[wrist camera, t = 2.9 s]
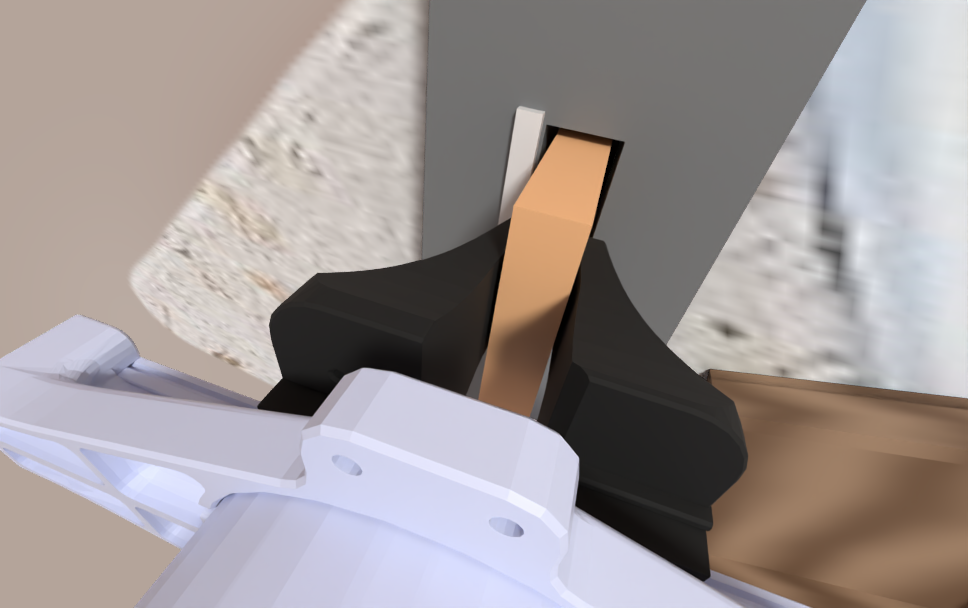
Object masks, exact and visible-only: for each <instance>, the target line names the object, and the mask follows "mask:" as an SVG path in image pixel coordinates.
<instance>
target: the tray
mask: <svg viewBox="0 0 968 608" xmlns="http://www.w3.org/2000/svg"><path fill="white" fill-rule="evenodd" d="M707 382H709V383H710V384H711V385H713V386H714V387H715V388H717V389H718V390H719V391H721V392H722V393H723V394H725V395H726V396H727V397H729V398H730V399H731V400H733V401H734V403H735V406H736V409H737V412H738V415H739V418H740V421H741V424H742V429H743V433H744V437H745V442H746V447H747V452H748V462H747V469H746V470H745V472H744V473H743V475H742V476H741V477H740V479H739V480H738V481H737V482H736V483H735V484H734V485H733V486H732V487H731V488H730V489H728V490H727V491H726V492H725V493H724V494H723V495H722V496H721V497H720V498H719V499H718V500H717V501H716V502H715V503H714V504H713V505H711V507H712V515H713V527H712V529H711V530H710V531H706V535H707V544H708V554H709V564H710V570H713V571H715V572H718V573H721V574H723V575H726V576H729V577H731V578H734V579H737V580H739V581H742V582H745V583H747V584H750V585H753V586H755V587H758V588H761V589H763V590H766V591H769V592H771V593H774V594H777V595H779V596H782V597H785V598H787V599H790V600H793V601H796V602H798V603H801V604H804V605H806V606H809V607H812V608H968V399H966V398H957V397H949V396H940V395H931V394H922V393H914V392H905V391H896V390H887V389H879V388H870V387H861V386H853V385H844V384H835V383H826V382H818V381H809V380H800V379H792V378H783V377H774V376H765V375H757V374H748V373H739V372H731V371H722V370H713V369H710V371H709V374H708V378H707Z"/></svg>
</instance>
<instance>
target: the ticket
mask: <svg viewBox="0 0 968 608" xmlns="http://www.w3.org/2000/svg"><path fill="white" fill-rule="evenodd" d="M612 140H613V139H610V138H606V137H601V136H597V135H592V134H588V133H583V132H579V131H574V130H570V129H565V128H560V130H559V132H558V133H557V135H556V137H555V138H554V140H553V142H552V143H551V145H550V147H549V148H548V150H547V152H546V153H545V155H544V156H543V158H542V160H541V161H540V163H539V165H538V166H537V168H536V170H535V171H534V173H533V175H532V176H531V178H530V180H529V181H528V183H527V185H526V186H525V188H524V189H523V191H522V193H521V194H520V196H519V198H518V199H517V201H516V203H515V204H514V206H513V212H512V217H511V223H510V228H509V234H508V239H507V245H506V250H505V256H504V261H503V267H502V272H501V278H500V283H499V289H498V294H497V300H496V305H495V311H494V316H493V322H492V327H491V332H490V338H489V343H488V349H487V354H486V360H485V365H484V371H483V376H482V382H481V387H480V393H479V398H478V400H480V401H483V402H486V403H489V404H492V405H495V406H498V407H501V408H504V409H507V410H510V411H512V412H515V413H518V414H521V415H524V416H527V417H530V414H531V411H532V408H533V405H534V402H535V399H536V396H537V393H538V390H539V387H540V384H541V381H542V378H543V375H544V372H545V369H546V366H547V363H548V360H549V356H550V353H551V350H552V347H553V344H554V341H555V338H556V335H557V332H558V329H559V326H560V323H561V320H562V317H563V314H564V311H565V308H566V305H567V302H568V299H569V296H570V292H571V289H572V286H573V283H574V280H575V277H576V274H577V271H578V268H579V265H580V262H581V259H582V256H583V253H584V250H585V247H586V244H587V241H588V238H589V235H590V232H591V228H592V225H593V221H594V217H595V212H596V208H597V204H598V200H599V195H600V191H601V187H602V183H603V178H604V174H605V170H606V166H607V161H608V157H609V153H610V149H611V144H612Z"/></svg>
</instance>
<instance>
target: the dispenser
mask: <svg viewBox="0 0 968 608" xmlns="http://www.w3.org/2000/svg"><path fill="white" fill-rule="evenodd" d="M865 2H866V0H430V2H429V36H428V69H427V103H426V137H425V170H424V204H423V237H422V260H423V259H427V258H430V257H433V256H436V255H439V254H442V253H444V252H447V251H449V250H452V249H454V248H456V247H459V246H461V245H463V244H465V243H467V242H469V241H471V240H473V239H475V238H477V237H479V236H480V235H482V234H484V233H486V232H488V231H489V230H491V229H493V228H494V227H496V226H498V225H499V224H501V223H502V222H504V221H506V220H508V219H509V218H511V217H512V212H513V206H514V204H515V203H516V201H517V199H518V198H519V196H520V194H521V193H522V191H523V189H524V188H525V186H526V185H527V183H528V181H529V180H530V178H531V176H532V175H533V173H534V171H535V170H536V168H537V166H538V165H539V163H540V161H541V160H542V158H543V156H544V155H545V153H546V152H547V150H548V148H549V147H550V145H551V143H552V142H553V140H554V138H555V137H556V135H557V133H558V131H559V127H561V128H565V129H570V130H574V131H579V132H583V133H588V134H592V135H597V136H601V137H606V138H610V139H615V140H619V141H620V142H619V146H618V149H617V152H616V155H615V158H614V161H613V164H612V167H611V170H610V173H609V176H608V179H607V182H606V185H605V188H604V191H603V194H602V197H601V200H600V203H599V206H598V209H597V213H596V216H595V219H594V222H593V225H592V228H591V232H590V235H589V237H591V238H595V239H599V240H603V241H604V242H605V243H606V245H607V249H608V252H609V255H610V258H611V260H612V263H613V266H614V268H615V271H616V273H617V275H618V277H619V279H620V282H621V284H622V286H623V288H624V290H625V292H626V293H627V295H628V297H629V299H630V300H631V302H632V304H633V305H634V307H635V308H636V310H637V311H638V312H639V314H640V315H641V316H642V318H643V319H644V320H645V322H646V323H647V324H648V326H649V327H650V328H651V329H652V330H653V331H654V333H655V334H656V335H657V336H658V337H659V338H660V339H661V340H662V341H663V342H664V343H665V345H667V343H668V341H669V339H670V338H671V336H672V334H673V332H674V331H675V329H676V327H677V326H678V324H679V322H680V320H681V319H682V317H683V315H684V314H685V312H686V310H687V308H688V307H689V305H690V303H691V301H692V300H693V298H694V296H695V295H696V293H697V291H698V289H699V288H700V286H701V284H702V283H703V281H704V279H705V277H706V276H707V274H708V272H709V271H710V269H711V267H712V265H713V264H714V262H715V260H716V258H717V257H718V255H719V253H720V252H721V250H722V248H723V246H724V245H725V243H726V241H727V240H728V238H729V236H730V234H731V233H732V231H733V229H734V227H735V226H736V224H737V222H738V221H739V219H740V217H741V215H742V214H743V212H744V210H745V209H746V207H747V205H748V203H749V202H750V200H751V198H752V197H753V195H754V193H755V191H756V190H757V188H758V186H759V184H760V183H761V181H762V179H763V178H764V176H765V174H766V172H767V171H768V169H769V167H770V166H771V164H772V162H773V160H774V159H775V157H776V155H777V153H778V152H779V150H780V148H781V147H782V145H783V143H784V141H785V140H786V138H787V136H788V135H789V133H790V131H791V129H792V128H793V126H794V124H795V123H796V121H797V119H798V117H799V116H800V114H801V112H802V110H803V109H804V107H805V105H806V104H807V102H808V100H809V98H810V97H811V95H812V93H813V92H814V90H815V88H816V86H817V85H818V83H819V81H820V79H821V78H822V76H823V74H824V73H825V71H826V69H827V67H828V66H829V64H830V62H831V61H832V59H833V57H834V55H835V54H836V52H837V50H838V49H839V47H840V45H841V43H842V42H843V40H844V38H845V36H846V35H847V33H848V31H849V30H850V28H851V26H852V24H853V23H854V21H855V19H856V18H857V16H858V14H859V12H860V11H861V9H862V7H863V5H864V4H865ZM552 348H553V347H552ZM487 349H488V347H487ZM487 349H486V351H485V353H484V355H483V357H482V359H481V361H480V363H479V365H478V367H477V369H476V372H475V374H474V377H473V379H472V382H471V384H470V387H469V389H468V392H467V394H466V396H467V397H470V398H473V399H476V400H478V398H479V393H480V387H481V382H482V376H483V371H484V365H485V360H486V354H487ZM551 354H552V350H551V353H550V356H549V360H548V363H547V366H546V369H545V372H544V375H543V378H542V381H541V384H540V387H539V390H538V393H537V396H536V399H535V402H534V405H533V408H532V411H531V414H530V417H529V418H532V419H535V420H537V419H538V415H539V412H540V408H541V404H542V401H543V397H544V393H545V389H546V384H547V379H548V373H549V367H550V361H551ZM479 401H480V400H479ZM482 402H483V401H482ZM485 403H486V402H485ZM488 404H489V403H488ZM491 405H492V404H491ZM494 406H495V405H494ZM497 407H498V406H497ZM500 408H501V407H500ZM503 409H504V408H503ZM506 410H507V409H506ZM509 411H510V410H509ZM514 413H515V412H514ZM517 414H518V413H517ZM520 415H521V414H520ZM523 416H524V415H523ZM526 417H527V416H526Z"/></svg>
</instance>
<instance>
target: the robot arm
mask: <svg viewBox="0 0 968 608" xmlns="http://www.w3.org/2000/svg"><path fill="white" fill-rule="evenodd" d="M510 223H511V218H509V219H508V220H506V221H504V222H502V223H501V224H499V225H498V226H496V227H494V228H493V229H491V230H489V231H488V232H486V233H484V234H482V235H480V236H479V237H477V238H475V239H473V240H471V241H469V242H467V243H465V244H463V245H461V246H459V247H456V248H454V249H452V250H449V251H447V252H444V253H442V254H439V255H436V256H433V257H430V258H427V259H423V260H419V261H415V262H411V263H407V264H403V265H398V266H393V267H387V268H381V269H374V270H366V271H355V272H335V273H317V274H316V275H314V276H313V277H312V278H311V279H309V280H308V281H307V282H306V283H305V284H304V285H302V286H301V287H300V288H299V289H298V290H297V291H296V292H294V293H293V294H292V295H291V296H290V297H289V298H288V299H286V300H285V301H284V302H283V303H282V304H281V305H280V306H279V307H278V308H277V309H276V310H275V311H274V312H273V313H272V315H271V319H270V323H269V328H270V335H271V340H272V344H273V347H274V350H275V354H276V357H277V360H278V364H279V367H280V370H281V374H282V377H283V378H282V379H281V380H280V381H279V383H278V384H277V385H276V386H275V387H274V388H273V389H272V390H271V391H270V392H269V393H268V394H267V396H266V397H265V398H264V399H263V400H262V401H261V402H260V401H258V400H255V399H252V398H250V397H247V396H244V395H241V394H239V393H236V392H233V391H231V390H228V389H225V388H223V387H220V386H217V385H215V384H212V383H209V382H207V381H204V380H201V379H199V378H196V377H193V376H190V375H188V374H185V373H183V372H180V371H177V370H175V369H172V368H169V367H167V366H164V365H161V364H159V363H156V362H153V361H151V360H148V359H145V358H142V357H140V355H139V351H138V349H137V347H136V345H135V344H134V342H133V341H132V339H131V338H130V337H129V336H128V335H127V334H125V333H124V332H123V331H122V330H120V329H118V328H116V327H114V326H111V325H108V324H105V323H103V322H100V321H97V320H94V319H92V318H89V317H86V316H83V315H75V316H73V317H71V318H69V319H68V320H66V321H65V322H63V323H61V324H59V325H57V326H56V327H54V328H52V329H51V330H49V331H47V332H45V333H44V334H42V335H40V336H38V337H37V338H35V339H33V340H32V341H30V342H28V343H26V344H25V345H23V346H21V347H20V348H18V349H16V350H15V351H13V352H11V353H9V354H8V355H6V356H4V357H2V358H1V359H0V450H1V451H2V452H3V453H4V454H5V455H7V456H8V457H9V458H10V459H11V460H13V461H14V462H15V463H16V464H17V465H18V466H20V467H21V468H23V469H26V470H28V471H30V472H32V473H34V474H36V475H39V476H41V477H43V478H45V479H47V480H49V481H51V482H54V483H56V484H58V485H60V486H62V487H64V488H66V489H68V490H70V491H72V492H74V493H76V494H78V495H80V496H82V497H84V498H86V499H88V500H90V501H92V502H94V503H95V504H97V505H99V506H101V507H103V508H105V509H107V510H109V511H111V512H113V513H114V514H116V515H118V516H120V517H122V518H124V519H126V520H128V521H129V522H131V523H133V524H135V525H137V526H139V527H141V528H142V529H144V530H146V531H148V532H150V533H152V534H154V535H155V536H157V537H159V538H161V539H163V540H165V541H167V542H168V543H170V544H172V545H174V546H176V547H178V548H180V549H181V551H180V552H179V553H178V555H177V556H176V557H175V558H174V559H173V561H172V562H171V563H170V564H169V565H168V567H167V568H166V569H165V570H164V572H163V573H162V574H161V575H160V576H159V578H158V579H157V580H156V581H155V582H154V584H153V585H152V586H151V587H150V589H149V590H148V591H147V592H146V594H145V595H144V596H143V597H142V598H141V600H140V601H139V602H138V603H137V604H136V606H135V607H134V608H812V607H809V606H806V605H804V604H801V603H798V602H796V601H793V600H790V599H787V598H785V597H782V596H779V595H777V594H774V593H771V592H769V591H766V590H763V589H761V588H758V587H755V586H753V585H750V584H747V583H745V582H742V581H739V580H737V579H734V578H731V577H729V576H726V575H723V574H721V573H718V572H715V571H713V570H710V564H709V554H708V544H707V535H706V531H710V530H711V529H712V527H713V515H712V507H711V505H713V504H714V503H715V502H716V501H717V500H718V499H719V498H720V497H721V496H722V495H723V494H724V493H725V492H726V491H727V490H728V489H730V488H731V487H732V486H733V485H734V484H735V483H736V482H737V481H738V480H739V479H740V477H741V476H742V475H743V473H744V472H745V470H746V469H747V462H748V452H747V447H746V442H745V437H744V433H743V429H742V424H741V421H740V418H739V415H738V412H737V409H736V406H735V403H734V401H733V400H731V399H730V398H729V397H727V396H726V395H725V394H723V393H722V392H721V391H719V390H718V389H717V388H715V387H714V386H713V385H711V384H710V383H709V382H707V381H706V380H705V379H703V378H702V377H701V376H699V375H698V374H697V373H696V372H695V371H693V370H692V369H691V368H690V367H689V366H688V365H687V364H685V363H684V362H683V361H682V360H681V359H680V358H679V357H678V356H677V355H676V354H674V353H673V352H672V351H671V350H670V349H669V348H668V347H667V346H666V345H665V343H664V342H663V341H662V340H661V339H660V338H659V337H658V336H657V335H656V334H655V333H654V331H653V330H652V329H651V328H650V327H649V326H648V324H647V323H646V322H645V320H644V319H643V318H642V316H641V315H640V314H639V312H638V311H637V310H636V308H635V307H634V305H633V304H632V302H631V300H630V299H629V297H628V295H627V293H626V292H625V290H624V288H623V286H622V284H621V282H620V279H619V277H618V275H617V273H616V271H615V268H614V266H613V263H612V260H611V258H610V255H609V252H608V249H607V245H606V243H605V242H604V241H603V240H599V239H595V238H591V237H589V238H588V241H587V244H586V247H585V250H584V253H583V256H582V259H581V262H580V265H579V268H578V271H577V274H576V277H575V280H574V283H573V286H572V289H571V292H570V296H569V299H568V302H567V305H566V308H565V311H564V314H563V317H562V320H561V323H560V326H559V329H558V332H557V335H556V338H555V341H554V344H553V348H552V354H551V361H550V367H549V373H548V379H547V384H546V389H545V393H544V397H543V401H542V404H541V408H540V412H539V415H538V419H537V421H535V420H533V419H531V418H529V417H526V416H523V415H520V414H517V413H514V412H512V411H509V410H506V409H503V408H500V407H497V406H494V405H491V404H488V403H485V402H482V401H479V400H476V399H473V398H470V397H467V396H466V394H467V392H468V389H469V387H470V384H471V382H472V379H473V377H474V374H475V372H476V369H477V367H478V365H479V363H480V361H481V359H482V357H483V355H484V353H485V351H486V349H487V347H488V343H489V338H490V332H491V327H492V322H493V316H494V311H495V305H496V300H497V294H498V289H499V283H500V278H501V272H502V267H503V261H504V256H505V250H506V245H507V239H508V234H509V228H510Z"/></svg>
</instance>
